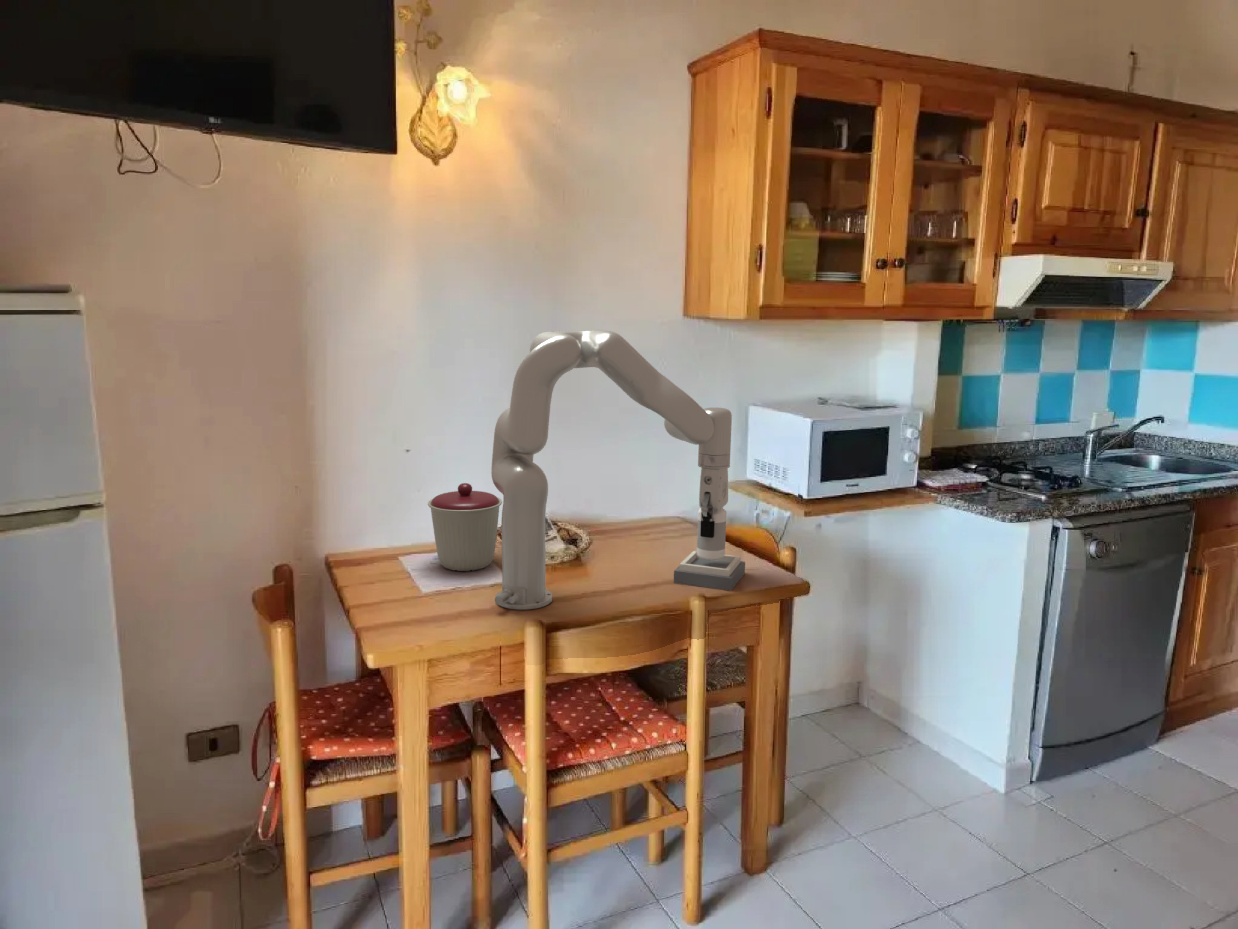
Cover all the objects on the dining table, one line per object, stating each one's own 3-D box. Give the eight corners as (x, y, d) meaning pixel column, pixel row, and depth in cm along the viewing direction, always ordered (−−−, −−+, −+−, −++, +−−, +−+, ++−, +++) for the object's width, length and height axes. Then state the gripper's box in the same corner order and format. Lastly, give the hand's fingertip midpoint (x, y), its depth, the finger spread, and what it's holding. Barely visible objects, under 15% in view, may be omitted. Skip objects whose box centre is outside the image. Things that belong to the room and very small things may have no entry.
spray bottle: (693, 558, 203) (696, 484, 200) (699, 550, 210) (702, 478, 206) (722, 560, 201) (724, 486, 198) (727, 553, 208) (730, 481, 204)
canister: (416, 563, 214) (413, 482, 210) (477, 550, 226) (476, 473, 222) (453, 581, 201) (451, 495, 197) (516, 567, 213) (516, 484, 209)
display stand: (731, 590, 198) (732, 572, 197) (673, 582, 202) (674, 564, 202) (744, 573, 210) (745, 555, 210) (690, 566, 215) (690, 549, 214)
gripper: (720, 468, 192) (717, 544, 195) (738, 455, 208) (735, 526, 211) (688, 465, 194) (686, 540, 198) (708, 453, 210) (705, 523, 214)
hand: (711, 532), depth 204 cm, fingers closed on spray bottle, 6 cm apart
